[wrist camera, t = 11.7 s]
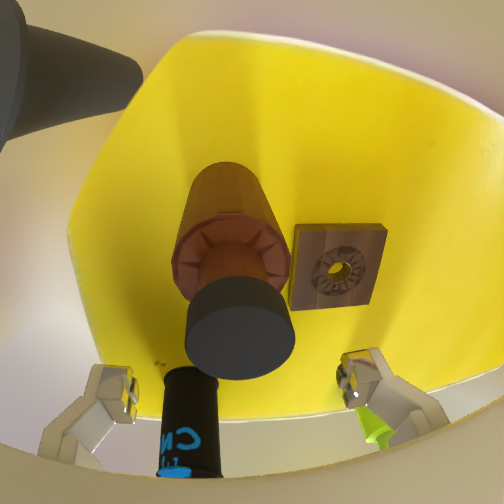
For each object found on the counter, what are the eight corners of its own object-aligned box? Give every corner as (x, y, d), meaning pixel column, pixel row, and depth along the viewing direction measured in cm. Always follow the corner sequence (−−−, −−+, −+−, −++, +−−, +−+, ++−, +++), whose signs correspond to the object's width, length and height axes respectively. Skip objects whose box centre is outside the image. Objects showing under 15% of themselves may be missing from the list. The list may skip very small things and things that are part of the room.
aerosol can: (229, 385, 43) (241, 509, 25) (189, 402, 44) (190, 516, 27) (193, 358, 39) (191, 499, 21) (152, 378, 40) (140, 503, 23)
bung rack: (287, 301, 36) (290, 311, 34) (295, 223, 31) (299, 231, 29) (363, 295, 37) (369, 304, 35) (380, 223, 32) (388, 230, 30)
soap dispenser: (336, 383, 46) (372, 488, 28) (344, 357, 42) (390, 473, 25) (368, 377, 46) (409, 475, 29) (378, 350, 43) (430, 456, 25)
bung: (194, 325, 16) (191, 382, 13) (185, 253, 14) (177, 307, 11) (276, 321, 17) (289, 376, 13) (282, 250, 15) (302, 301, 11)
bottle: (192, 230, 30) (173, 364, 15) (188, 162, 27) (151, 253, 12) (260, 228, 31) (299, 358, 16) (262, 161, 27) (317, 248, 12)
